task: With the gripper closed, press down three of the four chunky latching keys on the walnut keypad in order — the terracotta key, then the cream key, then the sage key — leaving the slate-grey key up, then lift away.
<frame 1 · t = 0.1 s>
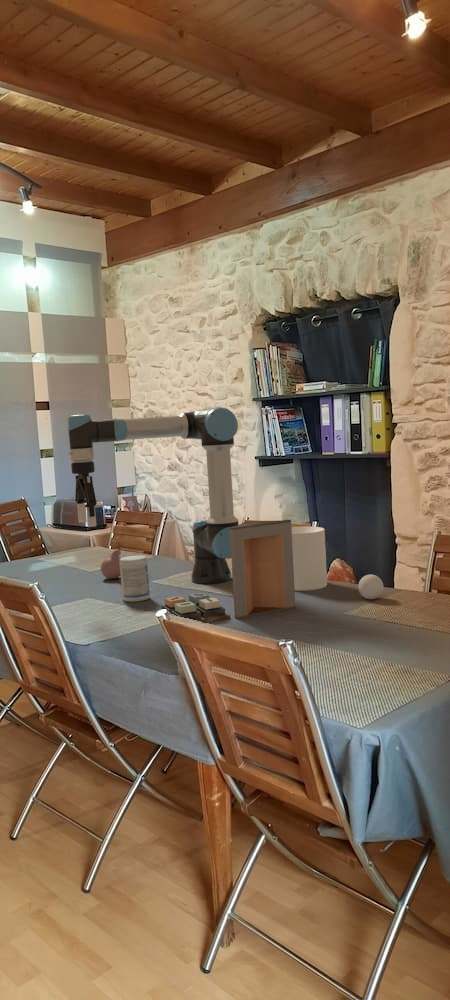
hand: (87, 524, 254), 28 cm above the table, fingers open, 13 cm apart
key sage: (185, 607, 230), point 4 cm above the table, slide at 0.0 cm
key cream: (209, 603, 233), point 4 cm above the table, slide at 0.0 cm
key slate: (198, 597, 241), point 4 cm above the table, slide at 0.0 cm
supplement tub: (136, 599, 264), on the table
keypad board: (193, 616, 236), on the table
ball: (371, 599, 244), on the table
canister: (304, 585, 270), on the table
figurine: (115, 578, 303), on the table
cabinet: (259, 611, 238), on the table
key terracotta: (175, 601, 238), point 4 cm above the table, slide at 0.0 cm
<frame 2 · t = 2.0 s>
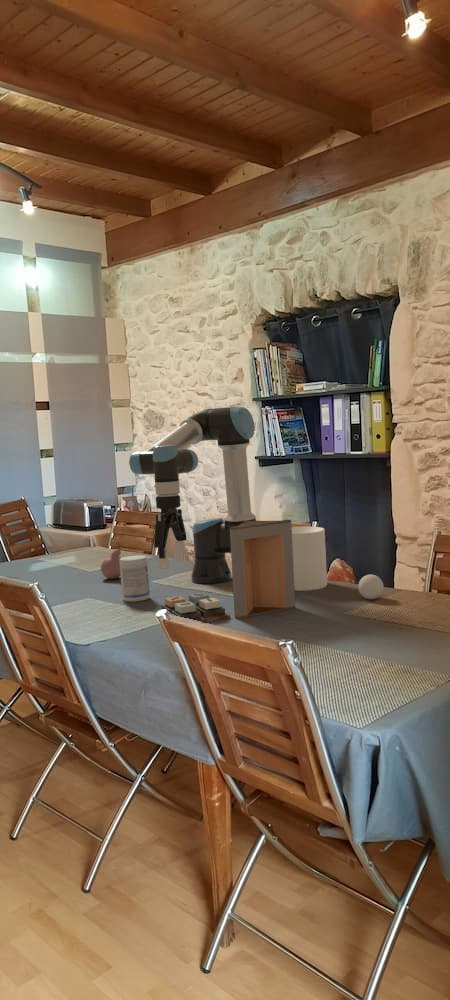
hand: (172, 564, 237), 16 cm above the table, fingers open, 11 cm apart
nothing on the table moved.
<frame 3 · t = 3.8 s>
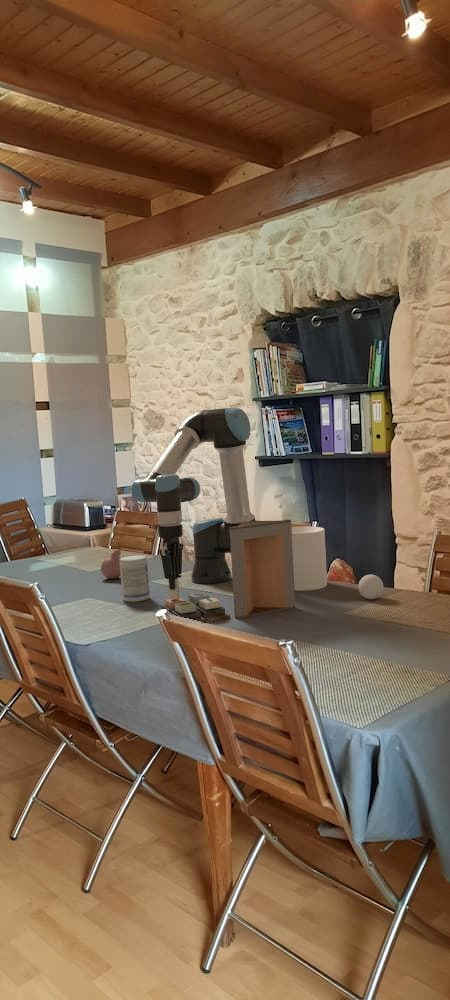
hand: (174, 598, 238), 5 cm above the table, fingers closed
key terracotta: (175, 602, 238), point 4 cm above the table, slide at 0.5 cm, touching gripper
everything else where it was.
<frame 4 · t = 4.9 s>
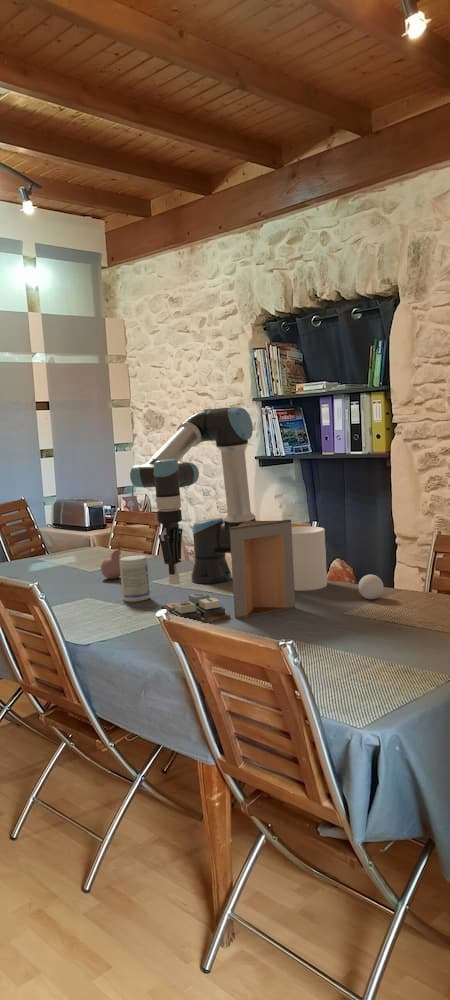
hand: (174, 583, 238), 10 cm above the table, fingers closed
key terracotta: (175, 607, 238), point 2 cm above the table, slide at 2.0 cm
everything else where it was.
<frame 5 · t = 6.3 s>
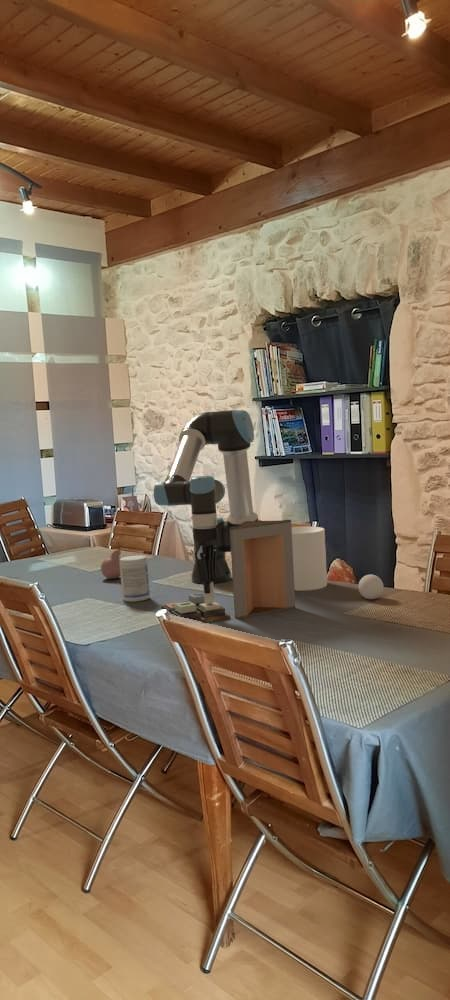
hand: (209, 602, 233), 5 cm above the table, fingers closed
key cream: (209, 607, 233), point 3 cm above the table, slide at 1.2 cm, touching gripper
everything else where it was.
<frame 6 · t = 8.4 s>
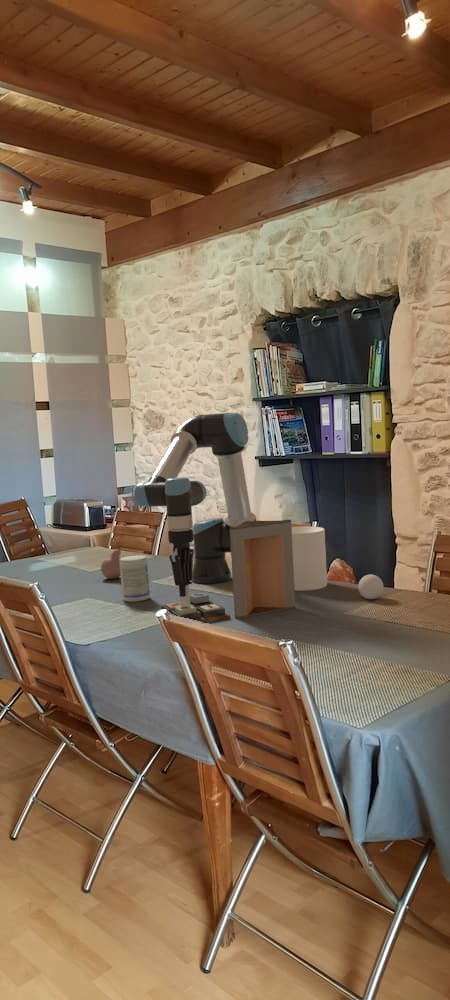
hand: (185, 606, 230), 5 cm above the table, fingers closed
key sage: (185, 610, 230), point 3 cm above the table, slide at 1.0 cm, touching gripper
key cream: (210, 609, 233), point 2 cm above the table, slide at 2.0 cm
everything else where it was.
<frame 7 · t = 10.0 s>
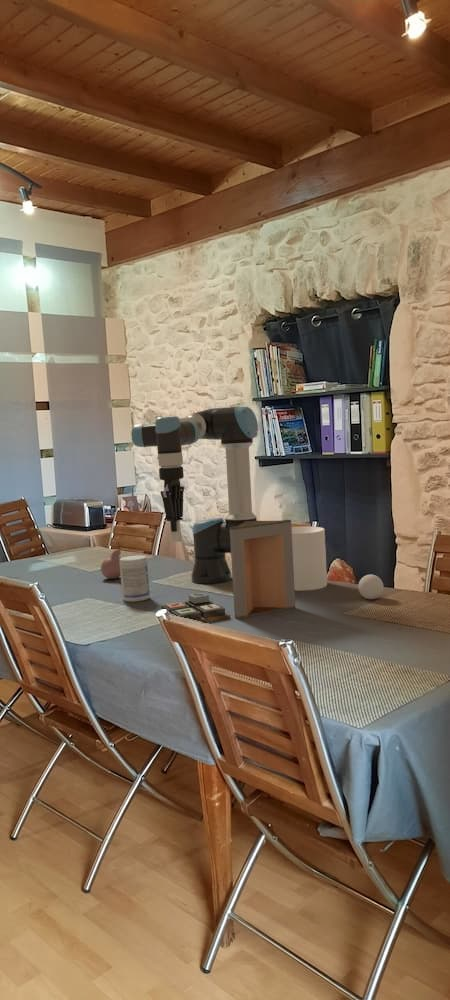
hand: (176, 541, 238), 23 cm above the table, fingers closed
key sage: (185, 613, 230), point 2 cm above the table, slide at 2.0 cm
everything else where it was.
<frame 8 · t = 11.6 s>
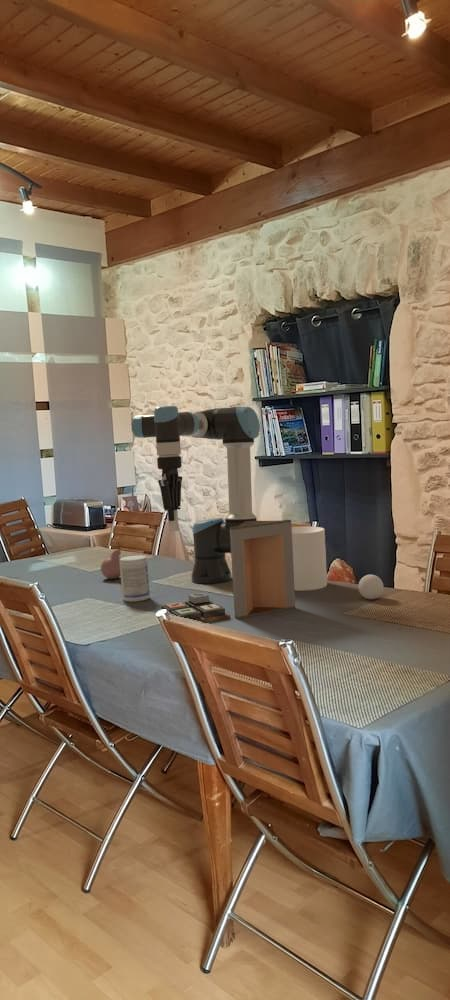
hand: (173, 530, 239), 26 cm above the table, fingers closed
nothing on the table moved.
at the end: key terracotta slide at 2.0 cm; key sage slide at 2.0 cm; key slate slide at 0.0 cm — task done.
